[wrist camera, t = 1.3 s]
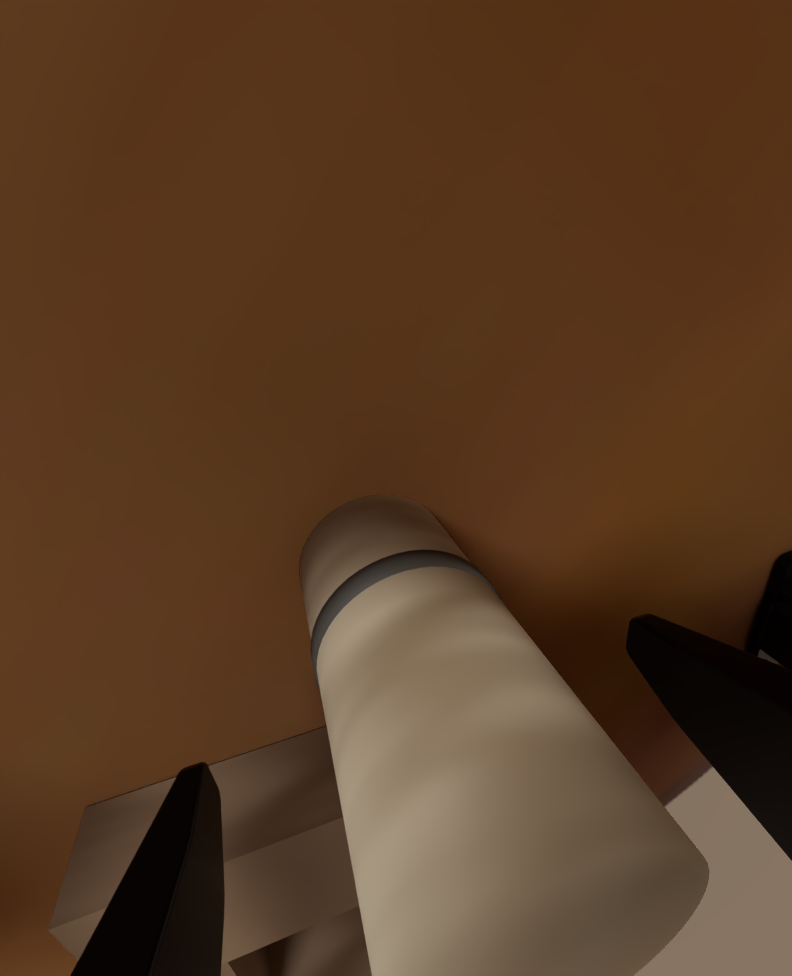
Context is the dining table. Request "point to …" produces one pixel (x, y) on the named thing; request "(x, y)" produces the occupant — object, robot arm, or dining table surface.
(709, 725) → the robot arm
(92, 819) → the walnut board
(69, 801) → the dining table surface
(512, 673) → the birch peg
